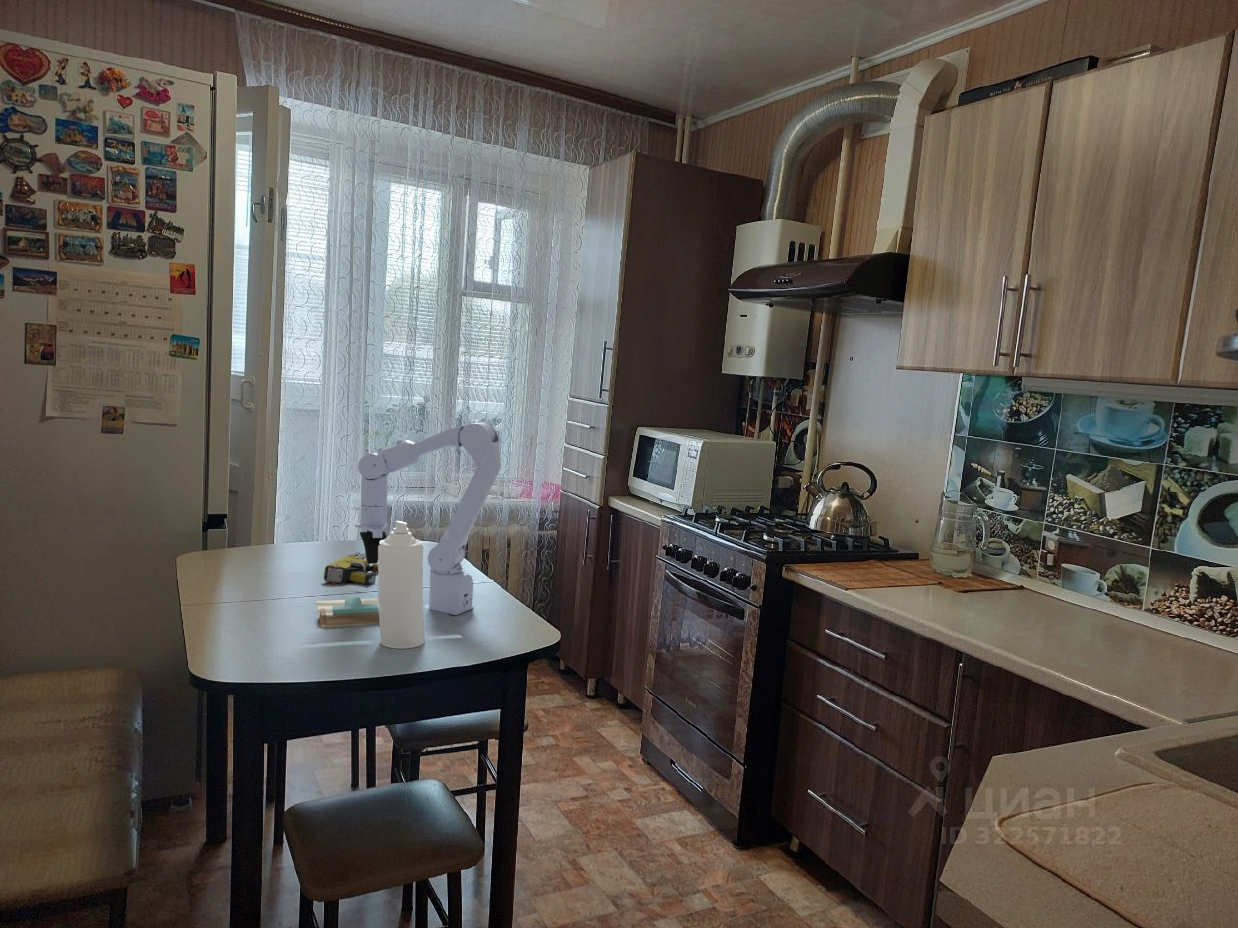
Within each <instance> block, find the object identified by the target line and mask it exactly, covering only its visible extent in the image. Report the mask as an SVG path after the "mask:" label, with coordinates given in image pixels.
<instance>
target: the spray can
mask: <svg viewBox="0 0 1238 928" xmlns="http://www.w3.org/2000/svg"><path fill="white" fill-rule="evenodd" d="M394 526H395V527H393V530H392V531H390V532H389V535H387V537H386V539H385V540H381V541H380V542H379V544H380V545H379V546H378V562H377V564H378V573H377V574H378V575H377V577H378V581H377V582H378V583H377V585H378V587H377V595H378V596H377V598H378V600H379V621H380V624H379V635H380V644H381V645H382V646H384V647H386V648H391V649H396V650H397V649H398V650H401V649H402V650H405V649H411V648H413V649H414V648H416V647H420V646H422V645H423V644H424V643H425V642H426V637H425V619H424V613H425V612H424V608H423V606H424V592H423V590H424V548H425V547H424V545H423V543H424V542H423V541H422V540H420V539H417V538H415V537H414V536H413V533H412V531H410V530H409V528H408V523H407V522H404V521H400V520H395V525H394Z"/></svg>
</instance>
